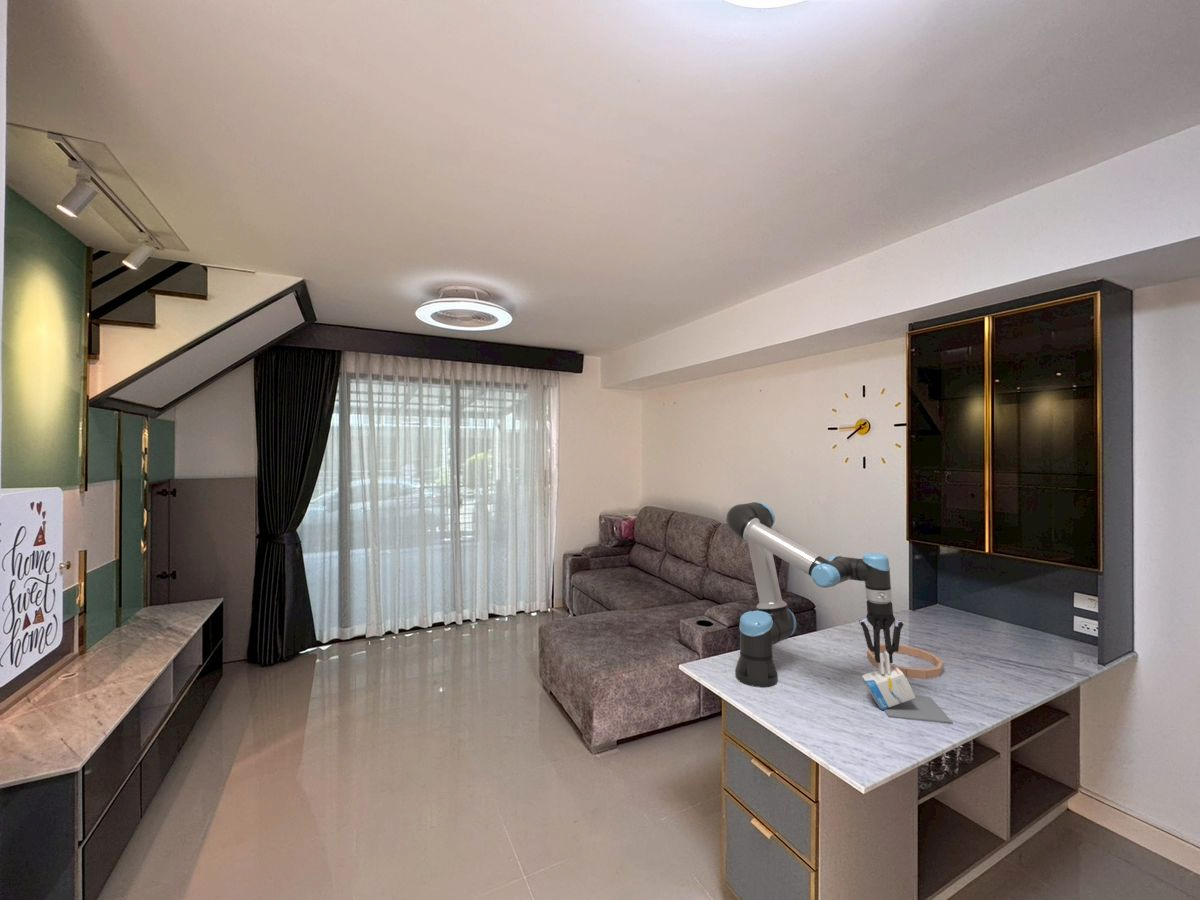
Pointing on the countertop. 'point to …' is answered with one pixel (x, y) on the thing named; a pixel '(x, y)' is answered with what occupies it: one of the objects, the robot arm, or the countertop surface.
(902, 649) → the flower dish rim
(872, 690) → the ink box
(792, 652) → the countertop surface
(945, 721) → the mat
